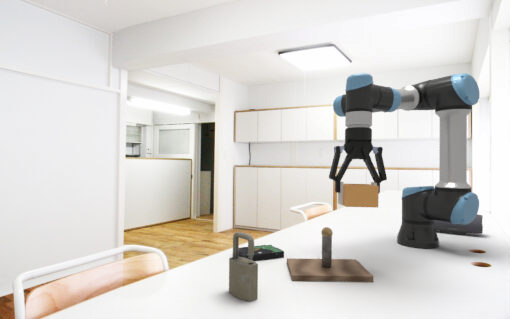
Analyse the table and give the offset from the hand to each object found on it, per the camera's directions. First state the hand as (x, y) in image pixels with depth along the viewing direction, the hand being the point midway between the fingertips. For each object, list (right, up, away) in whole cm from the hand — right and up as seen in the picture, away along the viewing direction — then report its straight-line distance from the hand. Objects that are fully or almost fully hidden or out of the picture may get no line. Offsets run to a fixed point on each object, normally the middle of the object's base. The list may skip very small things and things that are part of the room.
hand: (357, 204), depth 98 cm
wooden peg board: (-9, -20, +1) cm, 22 cm away
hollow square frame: (0, 0, 0) cm, 0 cm away
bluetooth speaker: (+62, -21, +58) cm, 88 cm away
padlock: (-33, -20, -17) cm, 42 cm away
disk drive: (-29, -21, +17) cm, 39 cm away
